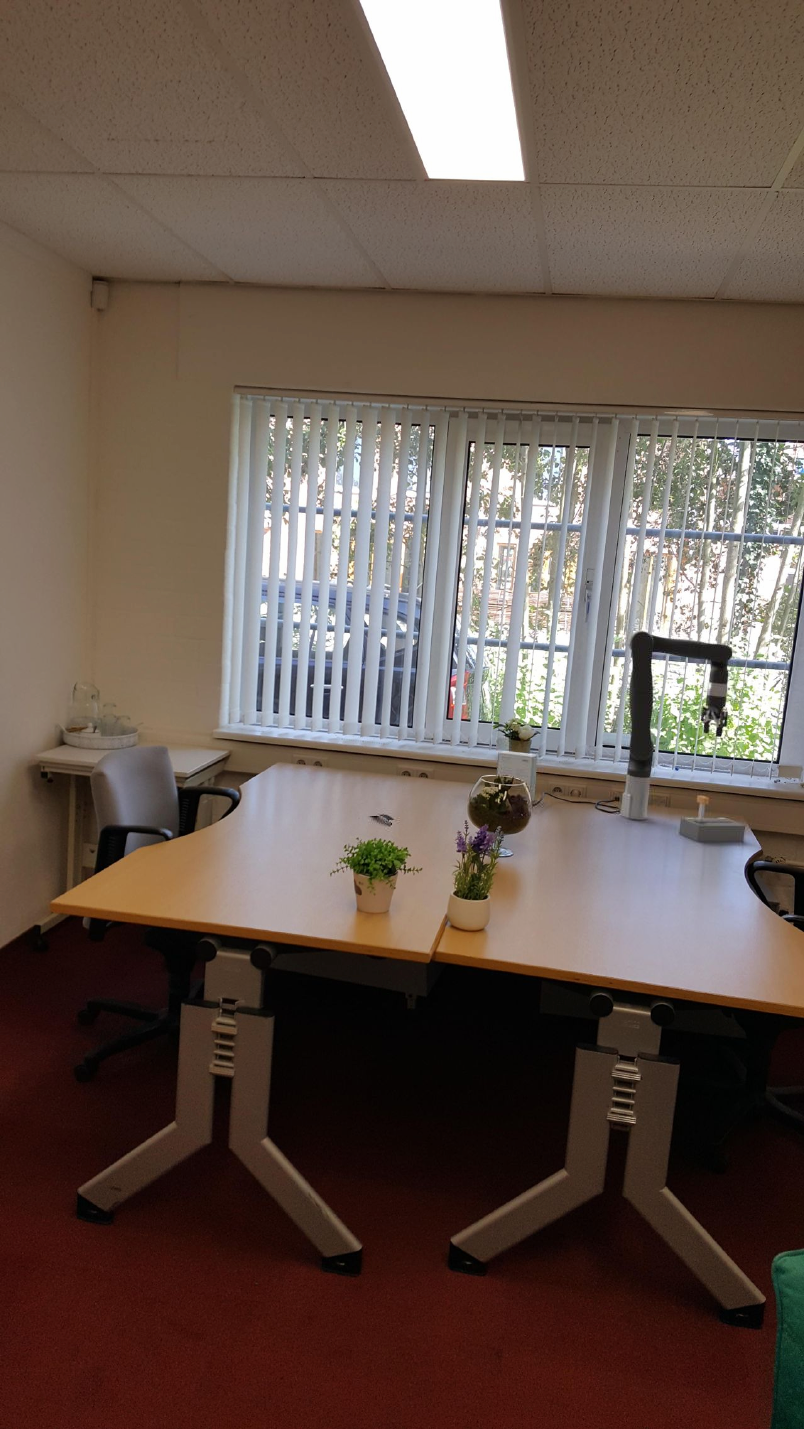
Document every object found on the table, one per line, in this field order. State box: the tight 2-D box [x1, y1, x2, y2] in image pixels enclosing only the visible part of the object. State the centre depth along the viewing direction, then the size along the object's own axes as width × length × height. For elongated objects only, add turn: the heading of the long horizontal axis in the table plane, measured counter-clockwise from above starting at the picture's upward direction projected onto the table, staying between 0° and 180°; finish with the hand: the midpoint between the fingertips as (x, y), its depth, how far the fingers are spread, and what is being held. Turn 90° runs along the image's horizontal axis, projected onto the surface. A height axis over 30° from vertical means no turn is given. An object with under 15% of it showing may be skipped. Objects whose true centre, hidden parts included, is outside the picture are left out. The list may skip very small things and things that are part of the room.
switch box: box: [678, 817, 746, 843], centre depth 365 cm, size 20×12×6 cm, turn 106°
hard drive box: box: [496, 750, 538, 802], centre depth 407 cm, size 16×8×20 cm, turn 65°
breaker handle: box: [694, 795, 710, 822], centre depth 363 cm, size 3×4×9 cm
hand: (712, 734), depth 384 cm, fingers open, 8 cm apart
